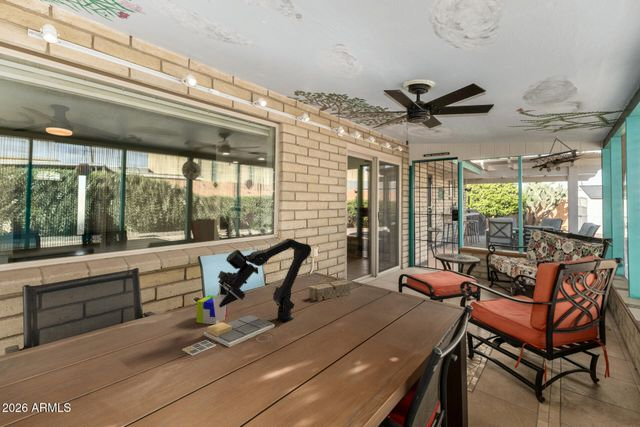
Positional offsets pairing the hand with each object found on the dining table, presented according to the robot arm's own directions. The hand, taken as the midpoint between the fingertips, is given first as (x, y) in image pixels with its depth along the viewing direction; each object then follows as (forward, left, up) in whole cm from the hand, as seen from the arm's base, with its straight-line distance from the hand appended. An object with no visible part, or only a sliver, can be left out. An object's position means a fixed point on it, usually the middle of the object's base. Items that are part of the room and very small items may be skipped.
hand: (217, 304), depth 125 cm
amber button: (-1, 0, -12) cm, 12 cm away
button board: (-9, +4, -13) cm, 17 cm away
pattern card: (+11, +4, -13) cm, 18 cm away
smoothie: (-1, 0, -7) cm, 7 cm away
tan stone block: (-78, +7, -14) cm, 80 cm away
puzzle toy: (-9, -17, -13) cm, 23 cm away
